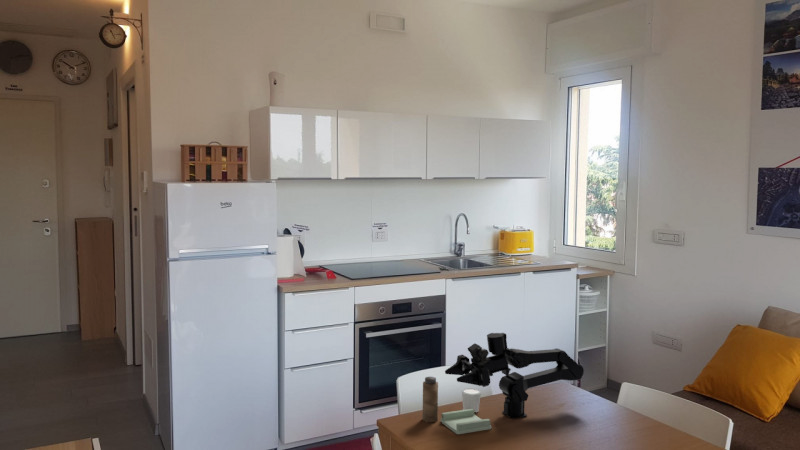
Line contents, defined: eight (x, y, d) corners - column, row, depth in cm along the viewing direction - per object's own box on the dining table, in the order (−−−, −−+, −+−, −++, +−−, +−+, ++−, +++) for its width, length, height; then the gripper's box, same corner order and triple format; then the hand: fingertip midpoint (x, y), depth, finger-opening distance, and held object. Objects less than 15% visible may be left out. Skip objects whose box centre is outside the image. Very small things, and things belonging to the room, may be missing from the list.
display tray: (473, 416, 216) (473, 408, 215) (491, 428, 205) (491, 419, 204) (440, 421, 210) (440, 413, 210) (457, 434, 199) (457, 425, 199)
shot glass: (479, 414, 218) (480, 394, 218) (460, 412, 219) (460, 393, 219) (481, 407, 225) (481, 389, 224) (462, 406, 226) (462, 387, 226)
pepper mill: (433, 416, 216) (433, 375, 215) (440, 421, 211) (440, 379, 210) (420, 418, 213) (420, 377, 213) (426, 423, 209) (427, 381, 208)
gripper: (475, 336, 221) (436, 346, 216) (502, 349, 204) (460, 360, 198) (479, 366, 222) (440, 376, 217) (506, 381, 205) (464, 393, 199)
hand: (451, 376), depth 208 cm, fingers open, 9 cm apart
